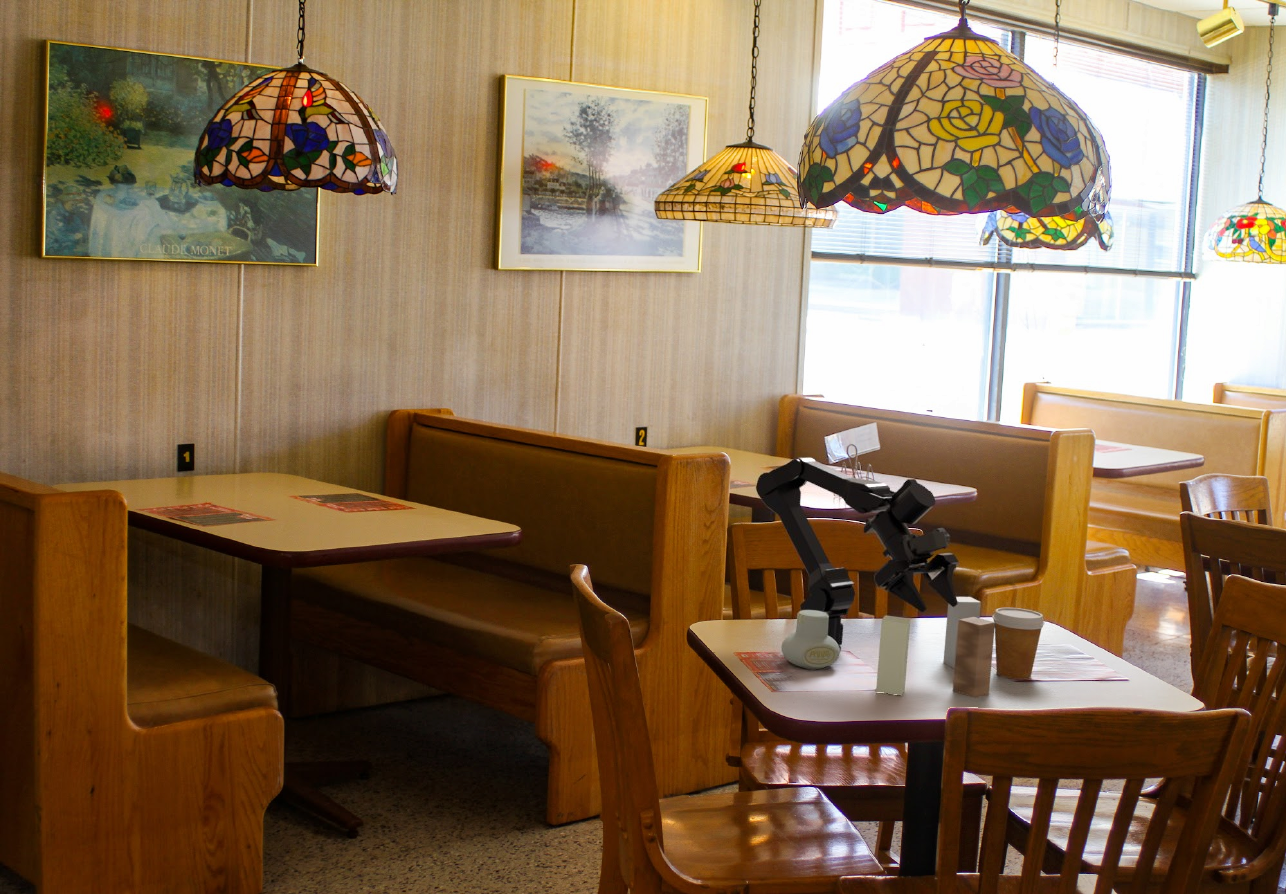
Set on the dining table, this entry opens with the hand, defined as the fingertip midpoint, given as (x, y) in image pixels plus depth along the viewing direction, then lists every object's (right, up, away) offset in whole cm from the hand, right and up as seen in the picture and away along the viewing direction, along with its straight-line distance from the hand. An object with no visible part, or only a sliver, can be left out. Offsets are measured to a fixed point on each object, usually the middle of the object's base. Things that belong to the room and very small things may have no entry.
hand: (940, 608), depth 232 cm
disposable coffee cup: (+16, -14, +9) cm, 23 cm away
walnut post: (+4, -14, -5) cm, 16 cm away
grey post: (+7, -13, +13) cm, 20 cm away
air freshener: (-23, -12, +7) cm, 27 cm away
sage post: (-11, -14, -7) cm, 19 cm away
